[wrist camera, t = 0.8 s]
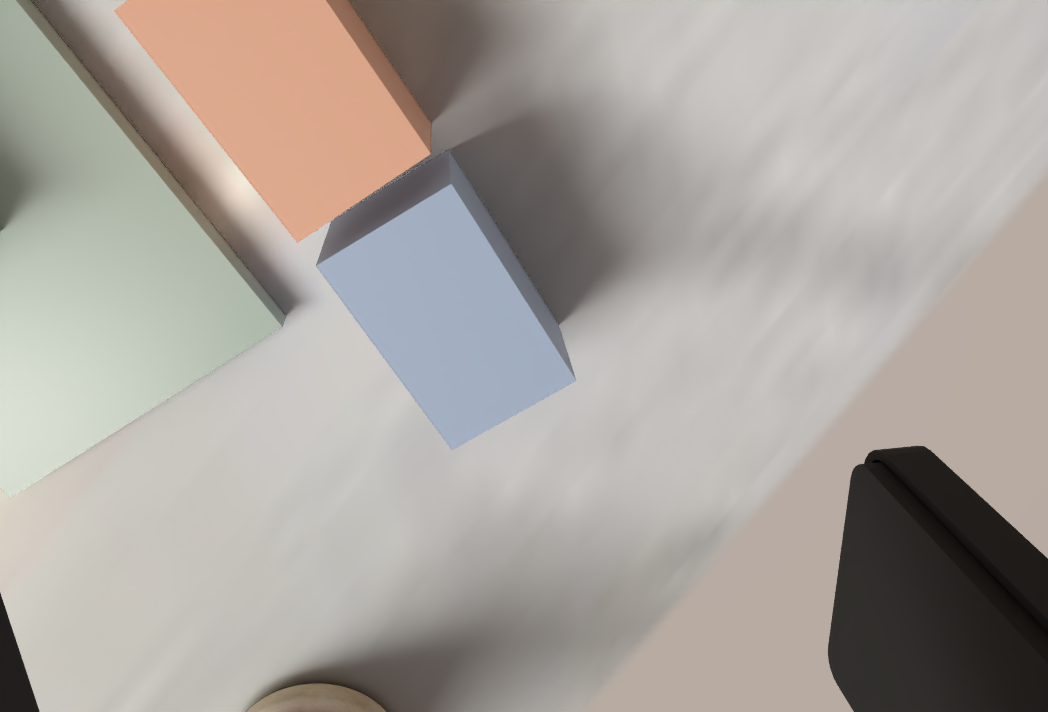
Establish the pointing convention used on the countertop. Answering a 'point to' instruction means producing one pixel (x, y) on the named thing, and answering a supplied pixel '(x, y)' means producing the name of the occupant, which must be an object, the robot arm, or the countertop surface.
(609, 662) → the countertop surface
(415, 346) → the slate brick
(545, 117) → the countertop surface
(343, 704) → the stacking toy
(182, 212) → the build plate
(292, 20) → the terracotta brick
